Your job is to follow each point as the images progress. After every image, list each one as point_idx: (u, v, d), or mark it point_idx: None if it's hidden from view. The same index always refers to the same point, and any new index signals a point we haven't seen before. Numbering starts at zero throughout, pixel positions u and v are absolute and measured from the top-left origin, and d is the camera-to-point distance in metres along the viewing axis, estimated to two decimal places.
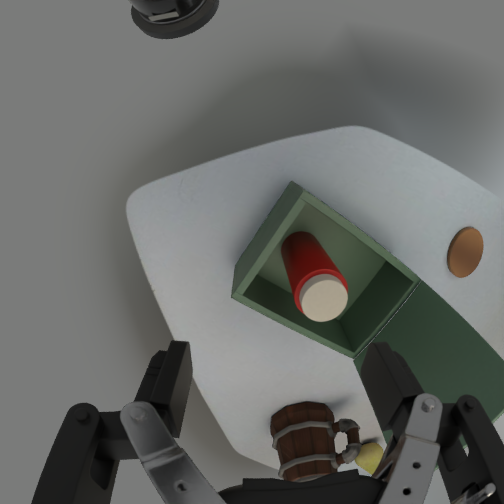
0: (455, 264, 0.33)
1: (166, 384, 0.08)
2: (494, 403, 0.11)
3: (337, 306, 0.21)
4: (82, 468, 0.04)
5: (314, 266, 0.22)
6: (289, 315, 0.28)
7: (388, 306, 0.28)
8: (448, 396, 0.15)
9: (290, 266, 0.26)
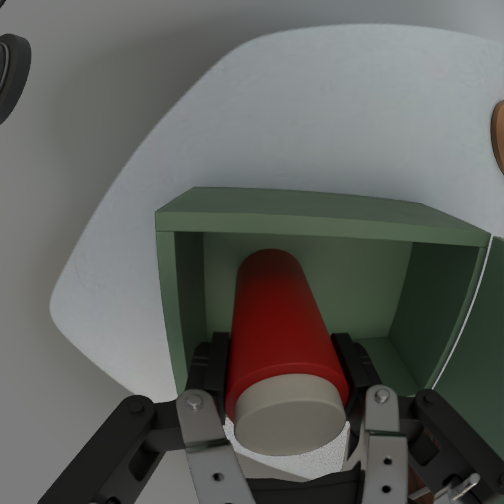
0: None
1: (216, 372, 0.09)
2: None
3: (326, 427, 0.08)
4: (121, 459, 0.05)
5: (240, 363, 0.09)
6: None
7: (452, 305, 0.13)
8: None
9: None
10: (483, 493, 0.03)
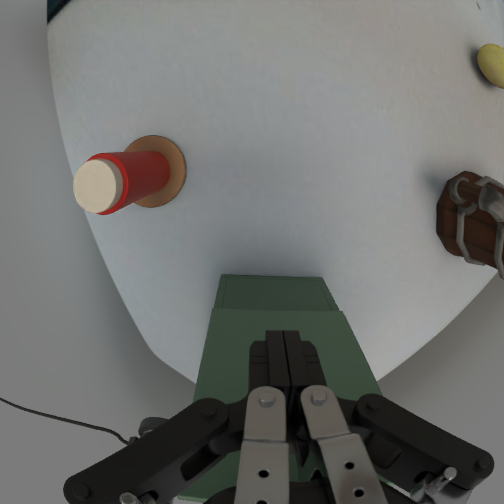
0: (173, 181, 0.28)
1: (280, 369, 0.09)
2: None
3: (90, 169, 0.16)
4: (176, 458, 0.06)
5: None
6: None
7: None
8: None
9: None
10: (464, 481, 0.04)
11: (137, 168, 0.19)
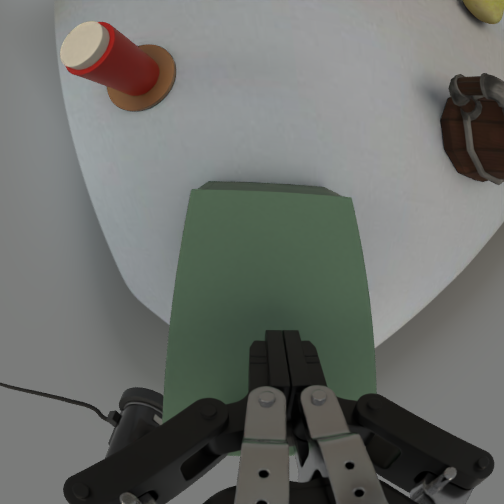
0: (161, 82, 0.24)
1: (280, 369, 0.09)
2: None
3: (80, 30, 0.11)
4: (176, 458, 0.06)
5: None
6: None
7: None
8: None
9: (113, 82, 0.18)
10: (464, 481, 0.04)
11: (125, 39, 0.15)
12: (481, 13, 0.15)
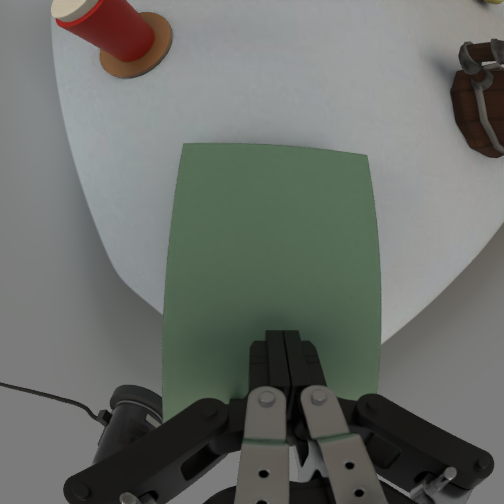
0: (156, 47, 0.20)
1: (280, 369, 0.09)
2: None
3: None
4: (176, 458, 0.06)
5: None
6: None
7: None
8: None
9: (104, 39, 0.14)
10: (464, 481, 0.04)
11: None
12: None
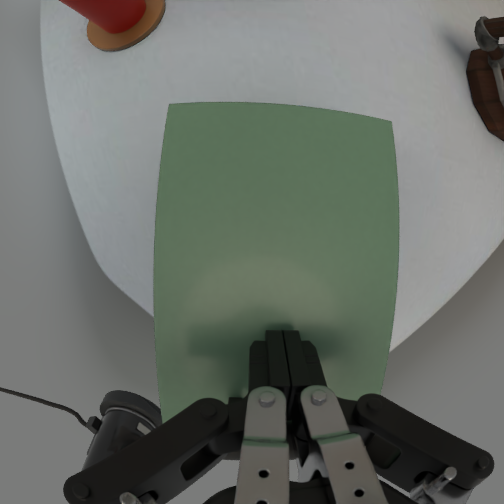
0: (147, 17, 0.16)
1: (280, 369, 0.09)
2: None
3: None
4: (176, 458, 0.06)
5: None
6: None
7: None
8: None
9: (88, 3, 0.10)
10: (464, 481, 0.04)
11: None
12: None
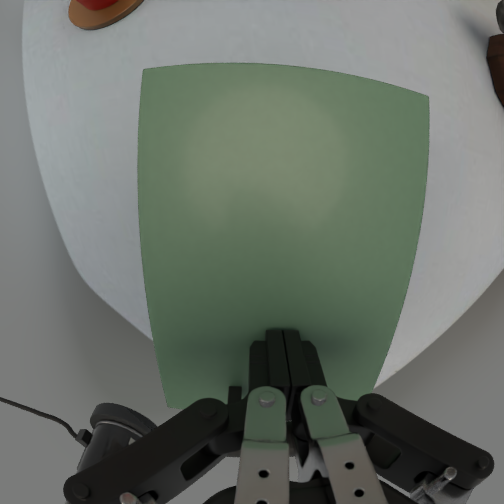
0: None
1: (280, 369, 0.09)
2: None
3: None
4: (176, 458, 0.06)
5: None
6: None
7: None
8: None
9: None
10: (464, 481, 0.04)
11: None
12: None
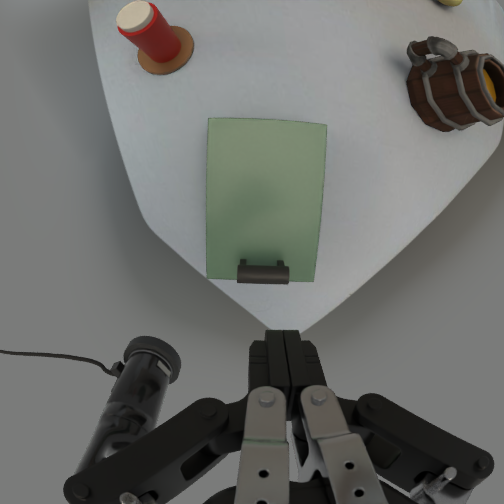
0: (182, 53, 0.29)
1: (280, 369, 0.09)
2: None
3: (132, 5, 0.17)
4: (176, 458, 0.06)
5: None
6: None
7: None
8: None
9: (150, 46, 0.23)
10: (464, 482, 0.04)
11: (162, 16, 0.20)
12: None
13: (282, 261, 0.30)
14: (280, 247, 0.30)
